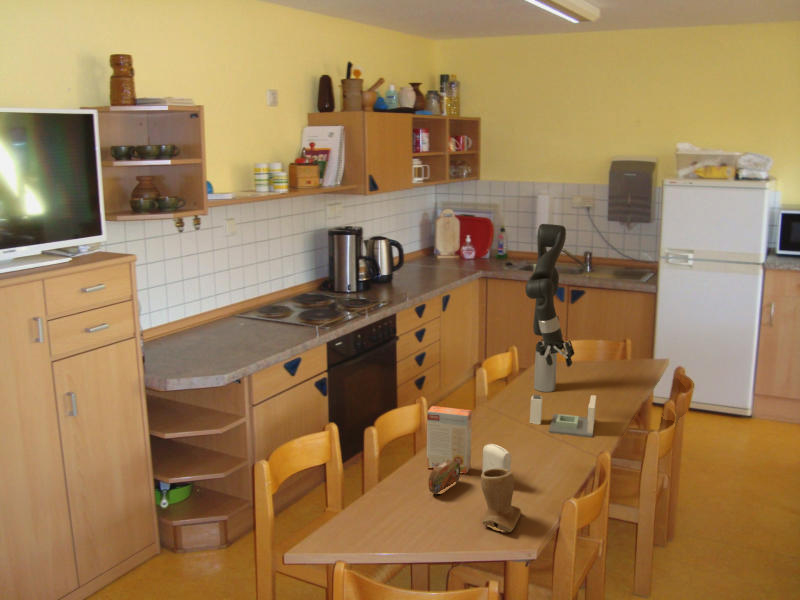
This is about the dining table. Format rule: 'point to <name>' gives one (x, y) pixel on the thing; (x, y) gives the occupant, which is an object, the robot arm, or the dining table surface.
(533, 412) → the block
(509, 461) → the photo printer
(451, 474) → the tin
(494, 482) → the stone cup
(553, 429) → the wall outlet
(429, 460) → the cracker box
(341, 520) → the dining table surface
